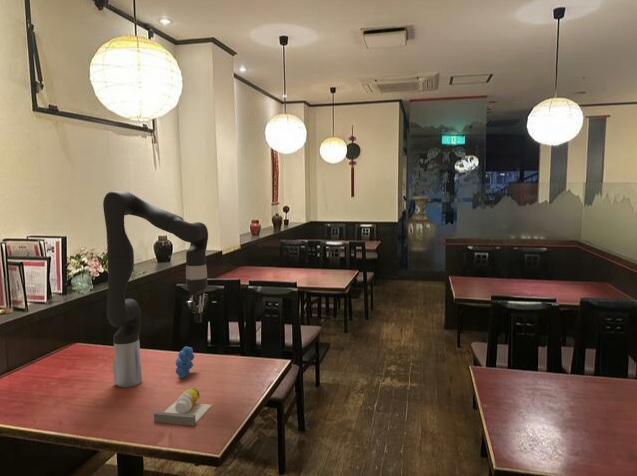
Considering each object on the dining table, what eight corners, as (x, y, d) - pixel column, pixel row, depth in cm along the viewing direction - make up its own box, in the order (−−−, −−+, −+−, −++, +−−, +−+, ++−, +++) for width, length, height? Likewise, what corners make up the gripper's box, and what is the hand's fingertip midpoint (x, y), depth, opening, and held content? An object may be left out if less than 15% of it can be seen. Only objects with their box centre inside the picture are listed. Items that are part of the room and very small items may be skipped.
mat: (154, 421, 147) (153, 413, 147) (175, 402, 160) (175, 395, 160) (193, 425, 144) (192, 417, 144) (211, 406, 157) (211, 398, 157)
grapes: (184, 369, 190) (183, 341, 188) (198, 370, 188) (197, 343, 187) (168, 380, 179) (166, 351, 177) (183, 382, 177) (181, 353, 175)
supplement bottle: (196, 404, 160) (184, 419, 150) (182, 396, 160) (169, 410, 150) (202, 391, 159) (191, 405, 149) (189, 383, 159) (176, 397, 149)
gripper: (196, 272, 173) (197, 316, 175) (177, 279, 161) (179, 326, 163) (214, 273, 172) (215, 317, 174) (197, 280, 159) (198, 328, 161)
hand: (198, 322), depth 168 cm, fingers closed
